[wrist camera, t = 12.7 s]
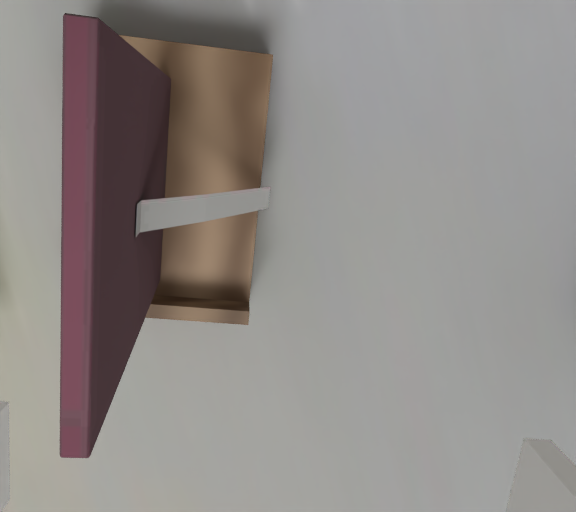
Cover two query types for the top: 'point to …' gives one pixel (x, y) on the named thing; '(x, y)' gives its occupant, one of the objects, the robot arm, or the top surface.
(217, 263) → the walnut ledge
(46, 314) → the top surface
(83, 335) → the picture frame
